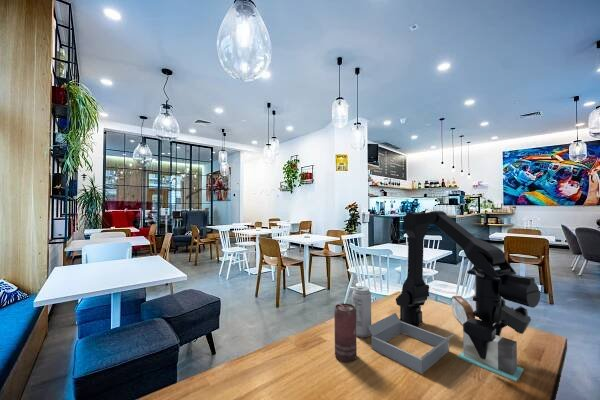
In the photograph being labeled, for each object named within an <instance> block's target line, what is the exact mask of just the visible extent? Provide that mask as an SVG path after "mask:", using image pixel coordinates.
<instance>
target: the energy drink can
mask: <svg viewBox="0 0 600 400" xmlns="http://www.w3.org/2000/svg"><path fill="white" fill-rule="evenodd" d="M351 296H352V299H351V300H352V305H353V306H354V307H355V309H356V337H358V338H369V337H370V336H371V335H372V334H371V332H370V331H369V329H368V326H370V325H372V293H371V292H370V288H369V287H367V286H365V285H364V286H363V285H357V286H355V287H354V288H353V290H352V295H351Z"/></svg>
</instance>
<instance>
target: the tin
mask: <svg viewBox="0 0 600 400" xmlns="http://www.w3.org/2000/svg"><path fill="white" fill-rule="evenodd" d="M451 309H452V313H453V316H454V317H455V319H456V321H458V323H460V325H461V326H462V327H463V323H465V322H466V321H467V320H469V319H470V318H475V319H476V317H475V316H473V312H474V311H475V310H474V309H473V307H472V305H471V303H470V302H468V300H466V299H465V298H464V297H463V296H462V295H453V296H451Z"/></svg>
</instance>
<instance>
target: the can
mask: <svg viewBox="0 0 600 400" xmlns="http://www.w3.org/2000/svg"><path fill="white" fill-rule="evenodd" d="M333 313H334V356H335V357H336V359H337V360H339V361H340V362H344V363H350V362H353V361H354V360H356V359H357V354H358V353H357V352H358V351H357V349H358V348H357V336H356V309H355V307H354V306H353V304H350V303H337V304H336V305H335V307H334V312H333Z"/></svg>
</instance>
